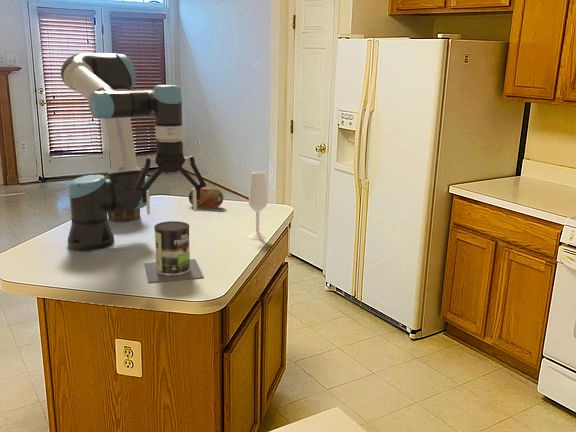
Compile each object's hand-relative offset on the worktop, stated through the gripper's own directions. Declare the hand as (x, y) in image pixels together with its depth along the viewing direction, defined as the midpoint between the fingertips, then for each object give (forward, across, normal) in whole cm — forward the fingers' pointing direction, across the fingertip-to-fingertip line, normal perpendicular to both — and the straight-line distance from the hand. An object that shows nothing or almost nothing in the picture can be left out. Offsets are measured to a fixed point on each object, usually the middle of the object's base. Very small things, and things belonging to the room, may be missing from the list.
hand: (171, 211), depth 170 cm
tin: (+18, +23, +74) cm, 79 cm away
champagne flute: (+19, +34, +27) cm, 47 cm away
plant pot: (+18, -12, +64) cm, 67 cm away
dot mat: (+19, 0, 0) cm, 19 cm away
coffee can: (+19, 0, 0) cm, 19 cm away
